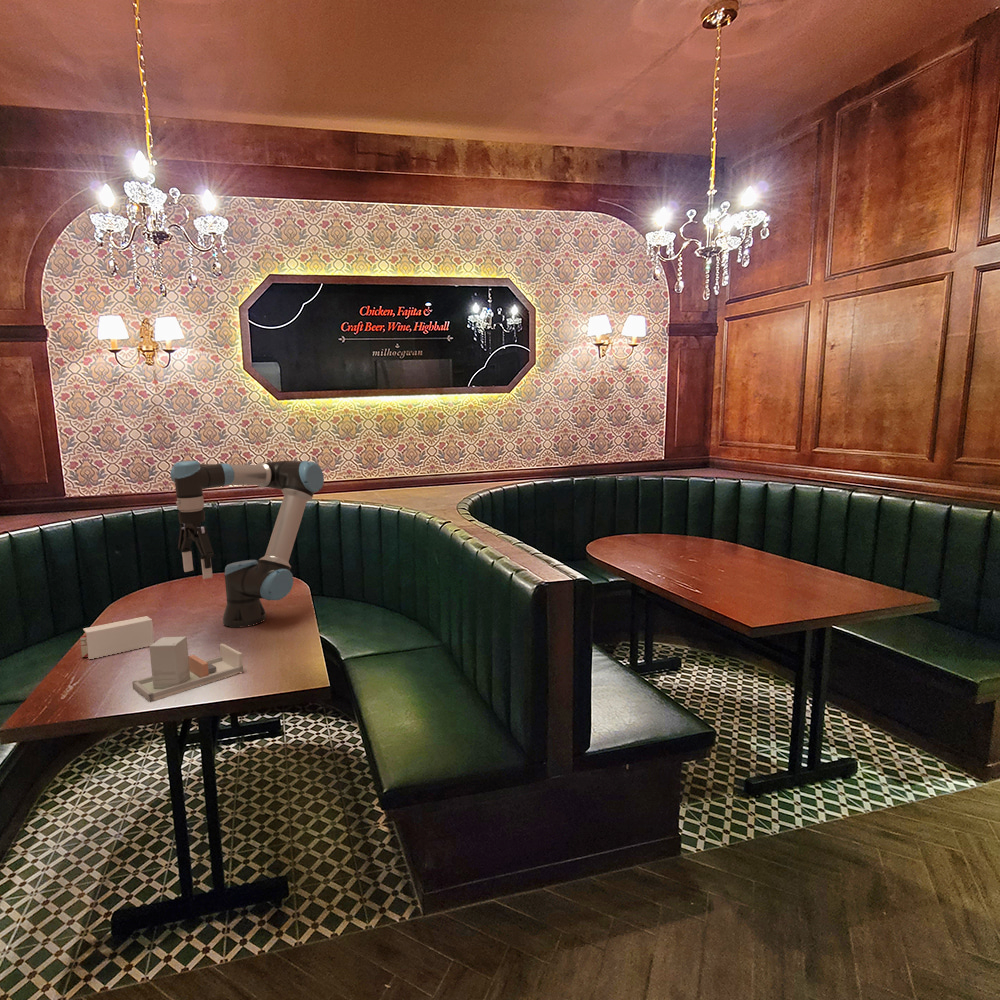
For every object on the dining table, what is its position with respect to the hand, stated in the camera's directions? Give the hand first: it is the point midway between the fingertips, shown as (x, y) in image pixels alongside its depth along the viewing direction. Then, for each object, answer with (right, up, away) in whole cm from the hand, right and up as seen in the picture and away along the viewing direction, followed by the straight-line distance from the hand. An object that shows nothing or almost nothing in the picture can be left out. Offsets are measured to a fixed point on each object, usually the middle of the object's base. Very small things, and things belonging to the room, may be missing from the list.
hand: (198, 574), depth 199 cm
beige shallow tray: (+7, -29, -19) cm, 35 cm away
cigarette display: (-29, -26, +5) cm, 39 cm away
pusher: (+10, -27, -15) cm, 33 cm away
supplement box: (+4, -29, -23) cm, 37 cm away
